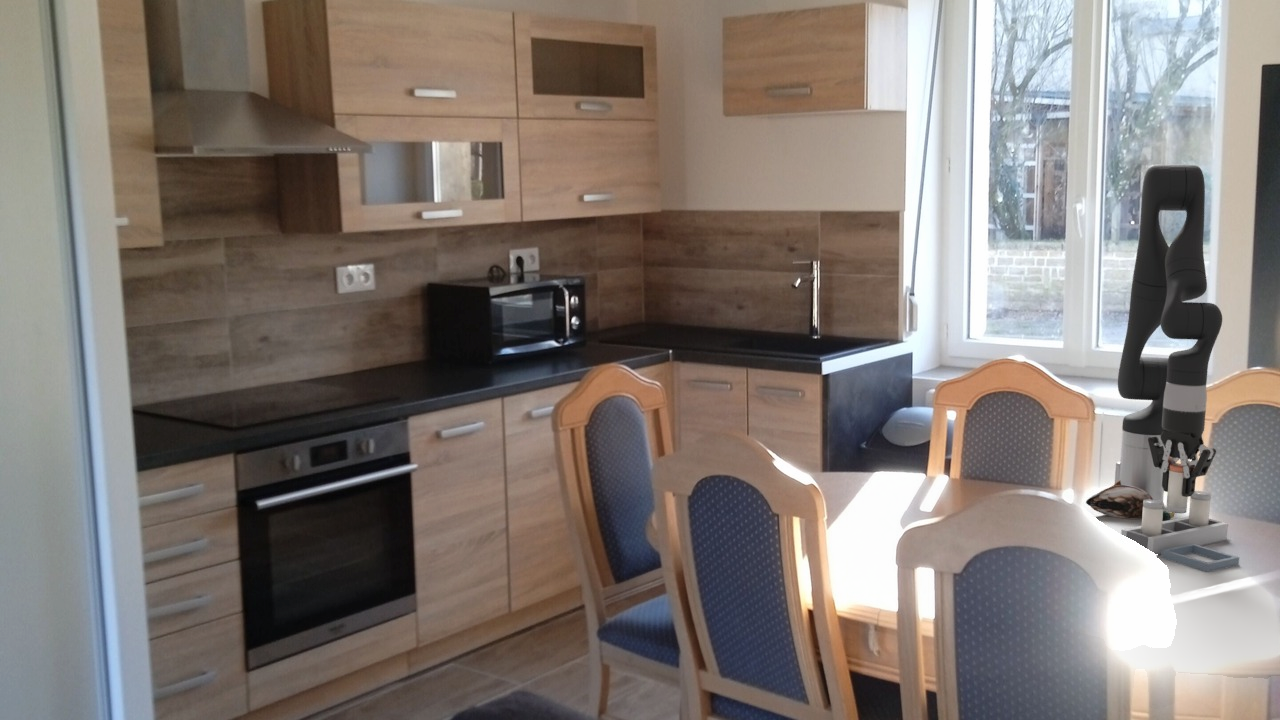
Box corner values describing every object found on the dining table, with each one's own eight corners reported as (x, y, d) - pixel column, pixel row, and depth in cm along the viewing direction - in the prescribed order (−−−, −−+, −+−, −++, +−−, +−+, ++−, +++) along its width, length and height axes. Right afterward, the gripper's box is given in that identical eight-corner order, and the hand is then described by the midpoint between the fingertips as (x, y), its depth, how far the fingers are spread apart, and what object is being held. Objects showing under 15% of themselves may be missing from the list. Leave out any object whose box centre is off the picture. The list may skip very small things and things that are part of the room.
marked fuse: (1162, 509, 242) (1165, 464, 240) (1174, 507, 243) (1177, 462, 242) (1178, 514, 239) (1181, 468, 237) (1190, 511, 240) (1194, 466, 239)
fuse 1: (1135, 546, 239) (1139, 500, 238) (1148, 543, 241) (1151, 498, 239) (1151, 551, 236) (1155, 505, 235) (1164, 548, 238) (1167, 502, 236)
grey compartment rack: (1115, 551, 240) (1117, 528, 239) (1193, 535, 251) (1194, 513, 251) (1152, 562, 233) (1154, 540, 232) (1230, 545, 244) (1232, 524, 243)
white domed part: (1183, 536, 246) (1186, 492, 245) (1195, 534, 248) (1198, 490, 246) (1199, 541, 243) (1203, 496, 241) (1211, 538, 245) (1214, 494, 243)
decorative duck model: (1185, 501, 253) (1123, 503, 248) (1179, 536, 254) (1117, 538, 250) (1137, 477, 267) (1077, 478, 262) (1131, 510, 268) (1072, 512, 264)
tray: (1160, 563, 232) (1161, 550, 232) (1191, 556, 237) (1192, 543, 236) (1207, 578, 224) (1208, 564, 224) (1238, 571, 228) (1239, 557, 228)
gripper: (1230, 411, 234) (1222, 499, 236) (1165, 398, 246) (1159, 483, 248) (1204, 414, 230) (1197, 505, 233) (1140, 401, 242) (1133, 487, 245)
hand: (1177, 493), depth 240 cm, fingers closed on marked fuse, 3 cm apart
